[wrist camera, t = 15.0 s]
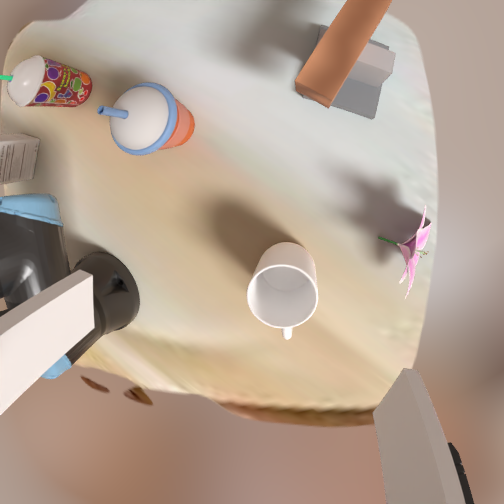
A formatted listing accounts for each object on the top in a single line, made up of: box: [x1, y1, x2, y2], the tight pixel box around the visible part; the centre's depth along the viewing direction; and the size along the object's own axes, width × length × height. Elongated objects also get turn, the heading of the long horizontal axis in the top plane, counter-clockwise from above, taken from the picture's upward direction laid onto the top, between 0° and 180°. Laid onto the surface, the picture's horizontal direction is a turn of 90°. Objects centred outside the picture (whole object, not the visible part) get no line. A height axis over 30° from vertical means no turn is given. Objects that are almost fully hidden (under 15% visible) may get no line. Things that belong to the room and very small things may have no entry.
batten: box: [295, 0, 392, 108], centre depth 23 cm, size 4×16×4 cm, turn 152°
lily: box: [378, 204, 431, 299], centre depth 35 cm, size 12×12×10 cm
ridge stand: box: [303, 25, 396, 119], centre depth 28 cm, size 10×12×8 cm
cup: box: [247, 242, 318, 339], centre depth 38 cm, size 8×12×10 cm
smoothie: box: [0, 55, 92, 107], centre depth 30 cm, size 8×8×20 cm
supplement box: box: [0, 133, 40, 185], centre depth 38 cm, size 9×9×15 cm
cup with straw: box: [98, 83, 195, 155], centre depth 30 cm, size 9×9×18 cm
